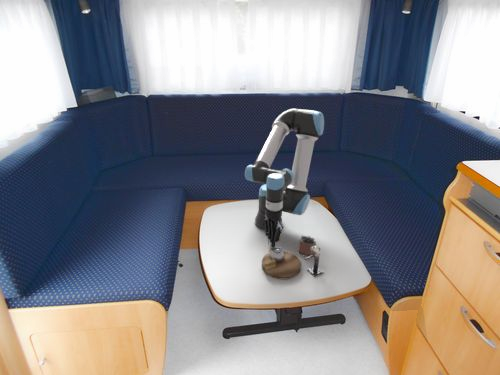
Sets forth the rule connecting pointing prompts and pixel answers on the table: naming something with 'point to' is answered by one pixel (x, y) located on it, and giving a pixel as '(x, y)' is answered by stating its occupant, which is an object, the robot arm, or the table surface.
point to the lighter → (306, 245)
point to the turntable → (282, 266)
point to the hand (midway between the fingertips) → (271, 251)
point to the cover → (277, 254)
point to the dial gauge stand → (315, 261)
